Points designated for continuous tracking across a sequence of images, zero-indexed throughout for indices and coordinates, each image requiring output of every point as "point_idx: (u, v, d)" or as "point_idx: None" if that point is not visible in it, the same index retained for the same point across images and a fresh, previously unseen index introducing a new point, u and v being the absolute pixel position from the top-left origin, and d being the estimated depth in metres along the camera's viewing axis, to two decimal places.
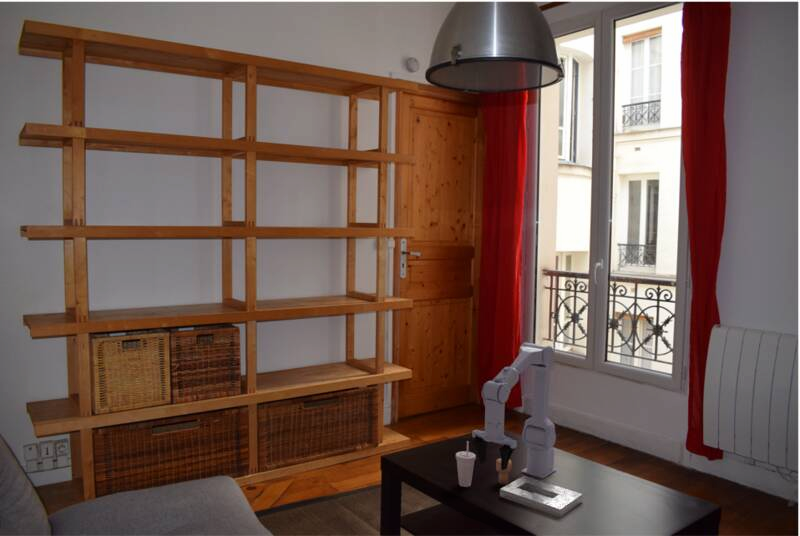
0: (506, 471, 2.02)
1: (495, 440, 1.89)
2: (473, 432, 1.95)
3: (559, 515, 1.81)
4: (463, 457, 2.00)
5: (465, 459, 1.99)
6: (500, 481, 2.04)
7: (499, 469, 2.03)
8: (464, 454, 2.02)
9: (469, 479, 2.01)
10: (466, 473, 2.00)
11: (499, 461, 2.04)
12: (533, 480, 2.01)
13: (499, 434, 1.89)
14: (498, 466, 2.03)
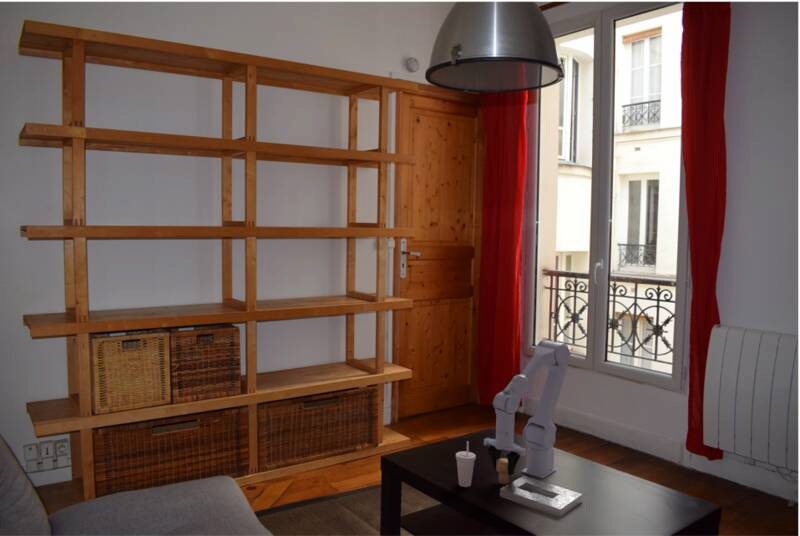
0: (506, 471, 2.02)
1: (506, 448, 2.01)
2: (485, 440, 2.08)
3: (559, 515, 1.81)
4: (463, 457, 2.00)
5: (465, 459, 1.99)
6: (500, 481, 2.04)
7: (499, 469, 2.03)
8: (464, 454, 2.02)
9: (469, 479, 2.01)
10: (466, 473, 2.00)
11: (499, 461, 2.04)
12: (533, 480, 2.01)
13: (509, 442, 2.01)
14: (498, 466, 2.03)
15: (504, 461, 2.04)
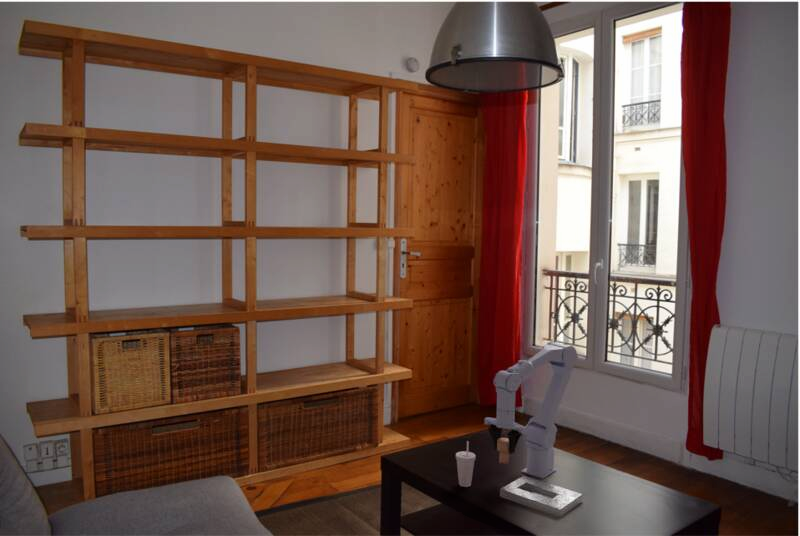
0: (507, 450, 2.02)
1: (506, 426, 2.00)
2: (485, 419, 2.07)
3: (559, 515, 1.81)
4: (463, 457, 2.00)
5: (465, 459, 1.99)
6: (501, 460, 2.03)
7: (500, 448, 2.02)
8: (464, 454, 2.02)
9: (469, 479, 2.01)
10: (466, 473, 2.00)
11: (500, 440, 2.03)
12: (533, 480, 2.01)
13: (510, 421, 2.01)
14: (499, 445, 2.03)
15: (505, 441, 2.03)
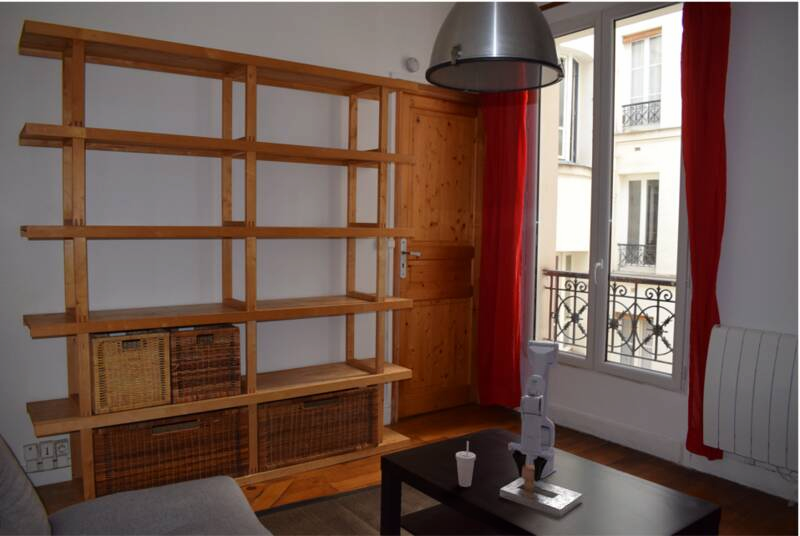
0: (533, 478, 1.93)
1: (532, 453, 1.91)
2: (509, 445, 1.98)
3: (559, 515, 1.81)
4: (463, 457, 2.00)
5: (465, 459, 1.99)
6: (526, 488, 1.94)
7: (525, 476, 1.93)
8: (464, 454, 2.02)
9: (469, 479, 2.01)
10: (466, 473, 2.00)
11: (525, 468, 1.94)
12: None
13: (536, 447, 1.92)
14: (524, 473, 1.93)
15: (531, 468, 1.94)
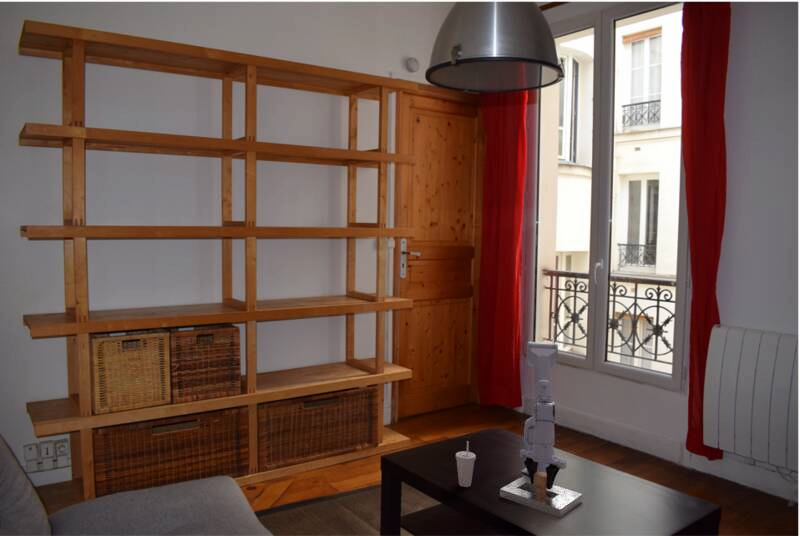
0: (545, 486, 1.90)
1: (544, 461, 1.89)
2: (521, 452, 1.96)
3: (559, 515, 1.81)
4: (463, 457, 2.00)
5: (465, 459, 1.99)
6: None
7: (537, 484, 1.91)
8: (464, 454, 2.02)
9: (469, 479, 2.01)
10: (466, 473, 2.00)
11: (537, 475, 1.92)
12: None
13: (548, 454, 1.89)
14: (536, 481, 1.91)
15: (543, 476, 1.91)
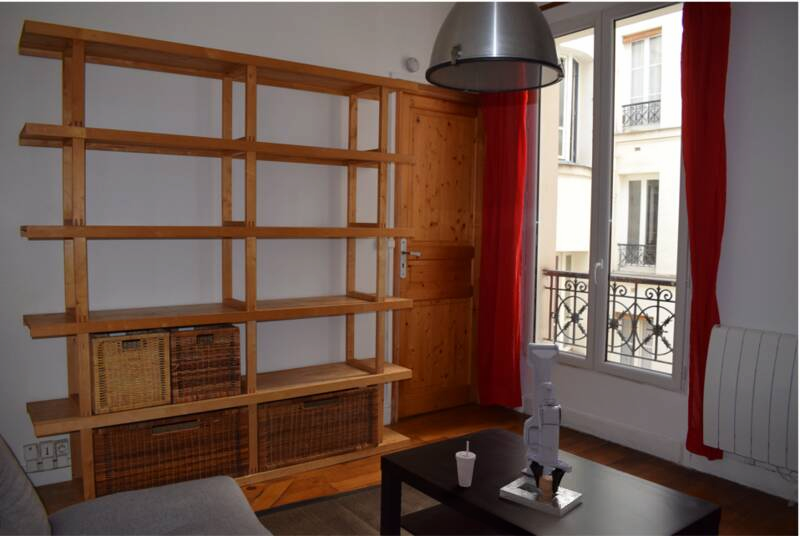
0: (551, 489, 1.89)
1: (550, 464, 1.87)
2: (526, 455, 1.94)
3: (559, 515, 1.81)
4: (463, 457, 2.00)
5: (465, 459, 1.99)
6: None
7: (543, 487, 1.89)
8: (464, 454, 2.02)
9: (469, 479, 2.01)
10: (466, 473, 2.00)
11: (542, 479, 1.90)
12: (533, 480, 2.01)
13: (554, 458, 1.88)
14: (542, 484, 1.90)
15: (548, 479, 1.90)
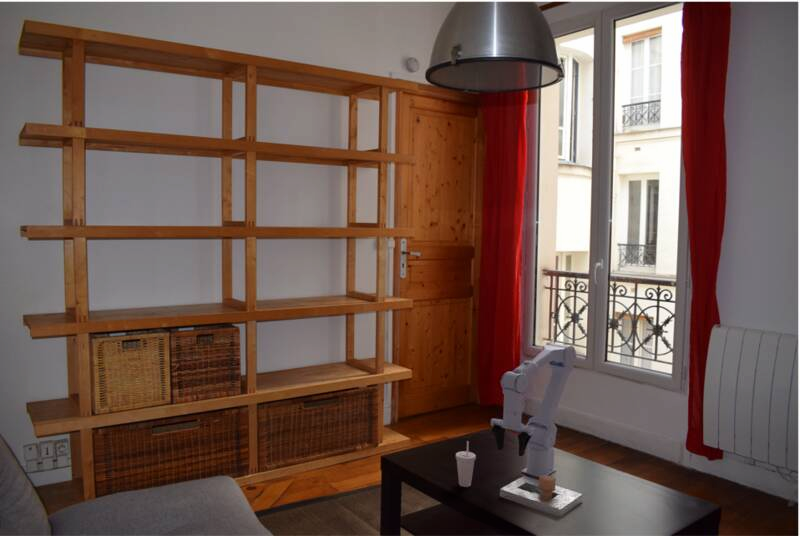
0: (550, 489, 1.89)
1: (513, 427, 1.99)
2: (492, 420, 2.06)
3: (559, 515, 1.81)
4: (463, 457, 2.00)
5: (465, 459, 1.99)
6: None
7: (543, 487, 1.89)
8: (464, 454, 2.02)
9: (469, 479, 2.01)
10: (466, 473, 2.00)
11: (542, 479, 1.90)
12: (533, 480, 2.01)
13: (517, 422, 2.00)
14: (542, 484, 1.90)
15: (548, 479, 1.90)
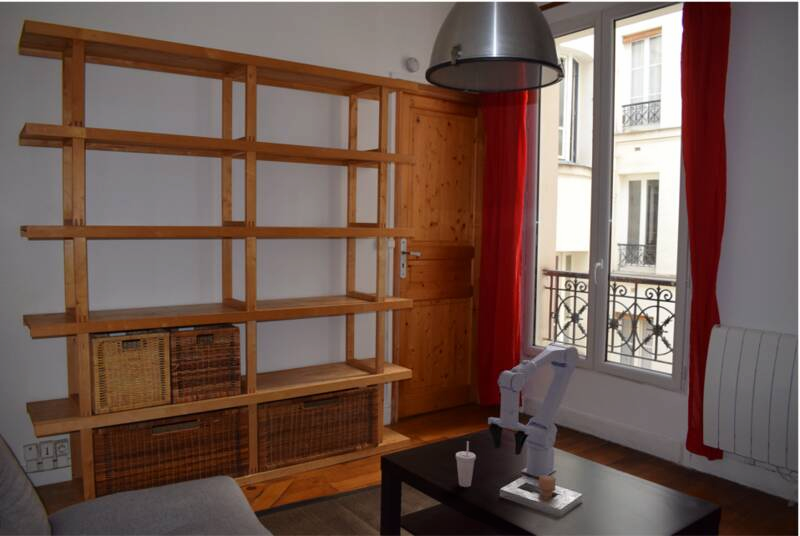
0: (550, 489, 1.89)
1: (510, 426, 2.00)
2: (489, 419, 2.07)
3: (559, 515, 1.81)
4: (463, 457, 2.00)
5: (465, 459, 1.99)
6: None
7: (543, 487, 1.89)
8: (464, 454, 2.02)
9: (469, 479, 2.01)
10: (466, 473, 2.00)
11: (542, 479, 1.91)
12: (533, 480, 2.01)
13: (514, 421, 2.01)
14: (542, 484, 1.90)
15: (548, 479, 1.90)
